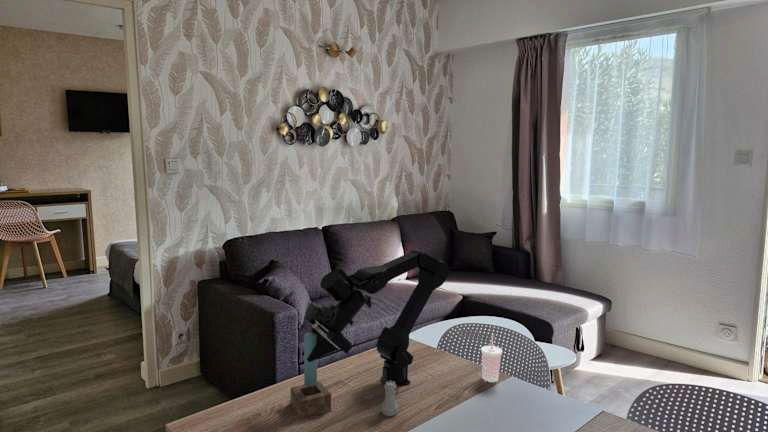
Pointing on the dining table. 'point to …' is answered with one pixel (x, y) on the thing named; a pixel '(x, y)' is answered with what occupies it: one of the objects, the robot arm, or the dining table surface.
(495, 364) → the beverage cup
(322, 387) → the walnut hole block
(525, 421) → the dining table surface
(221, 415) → the dining table surface
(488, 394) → the dining table surface
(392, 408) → the rook chess piece
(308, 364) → the teal pin
